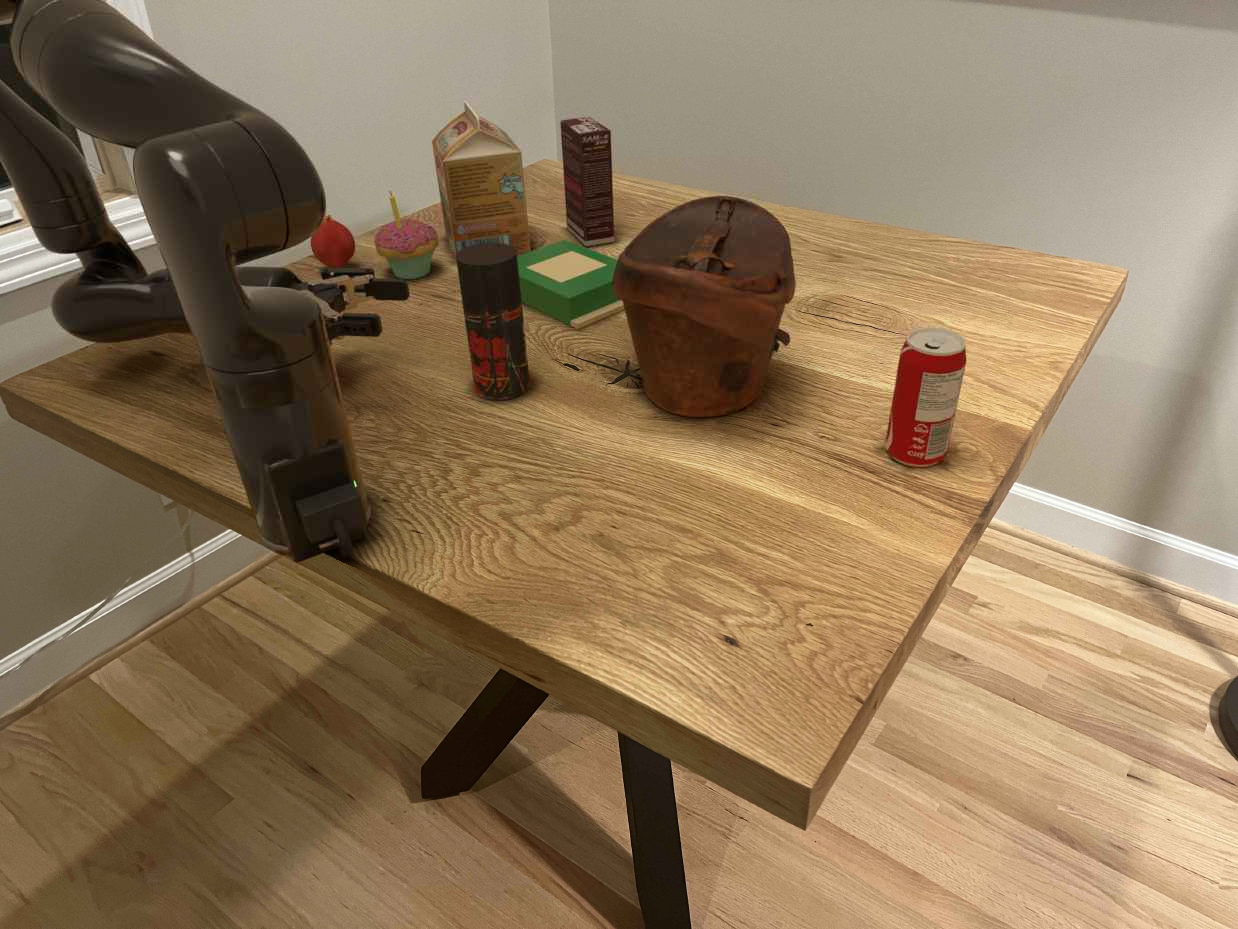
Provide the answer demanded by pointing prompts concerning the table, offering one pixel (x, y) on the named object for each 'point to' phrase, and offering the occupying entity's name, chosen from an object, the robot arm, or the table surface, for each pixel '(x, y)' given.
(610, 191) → the supplement box
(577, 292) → the green box
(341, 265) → the onion
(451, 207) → the milk carton
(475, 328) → the deodorant
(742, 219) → the case
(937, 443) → the soda can
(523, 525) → the table surface
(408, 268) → the cupcake
